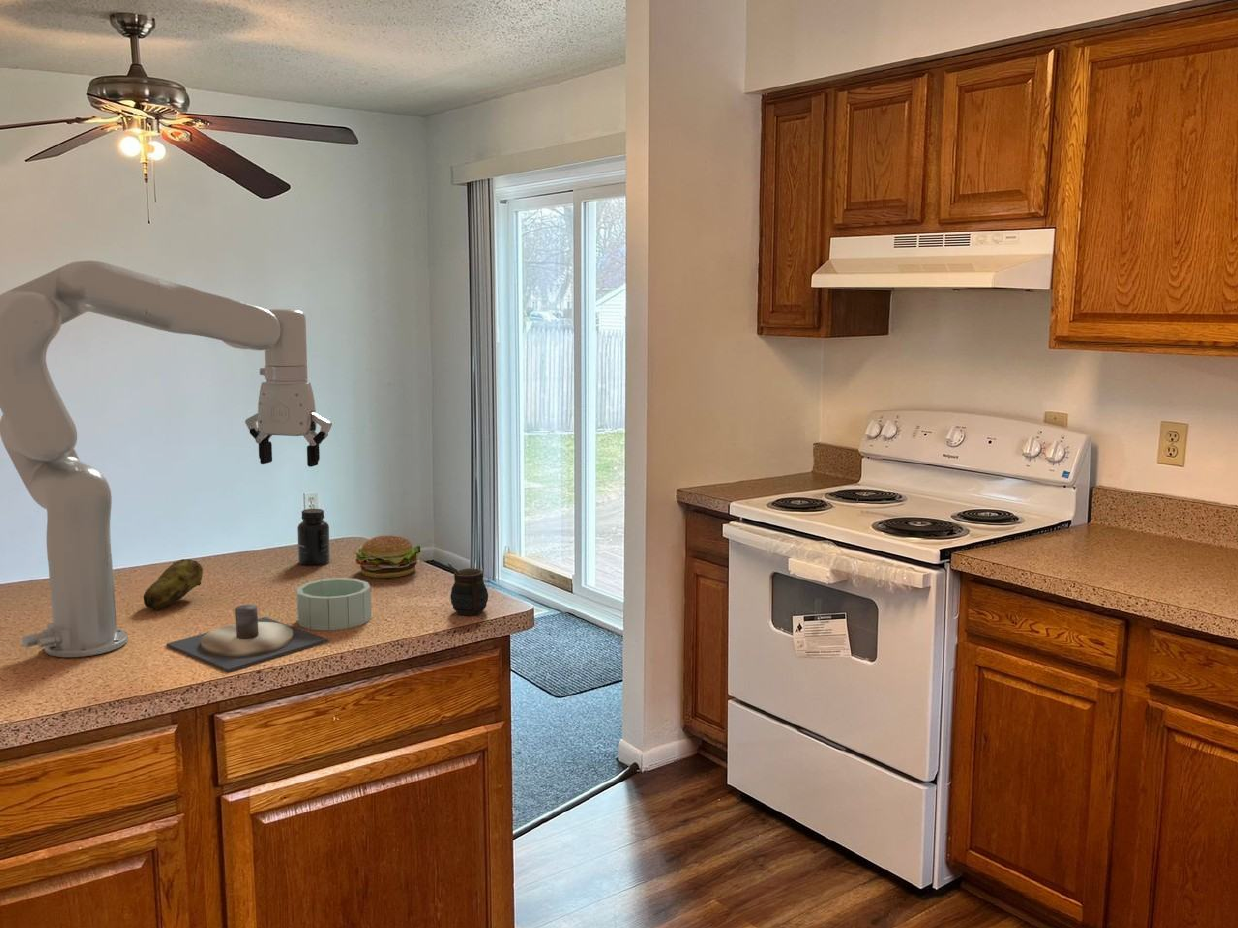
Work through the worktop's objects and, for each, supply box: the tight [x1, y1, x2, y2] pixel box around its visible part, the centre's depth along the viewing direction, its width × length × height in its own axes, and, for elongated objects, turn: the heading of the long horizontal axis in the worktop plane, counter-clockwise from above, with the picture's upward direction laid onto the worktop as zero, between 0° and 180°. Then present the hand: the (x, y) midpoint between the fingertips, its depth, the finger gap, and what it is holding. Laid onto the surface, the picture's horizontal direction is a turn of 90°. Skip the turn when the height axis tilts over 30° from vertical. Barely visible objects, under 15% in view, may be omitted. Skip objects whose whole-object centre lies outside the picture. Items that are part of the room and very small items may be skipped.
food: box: [353, 534, 421, 579], centre depth 221 cm, size 14×14×8 cm
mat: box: [166, 616, 329, 673], centre depth 176 cm, size 19×19×1 cm
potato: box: [143, 558, 204, 611], centre depth 197 cm, size 8×13×8 cm, turn 141°
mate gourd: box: [447, 563, 489, 616], centre depth 194 cm, size 7×8×10 cm
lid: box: [201, 604, 293, 656], centre depth 175 cm, size 15×15×6 cm
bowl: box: [295, 577, 372, 631], centre depth 189 cm, size 13×13×6 cm
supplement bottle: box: [296, 508, 331, 567], centre depth 228 cm, size 7×7×12 cm
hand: (289, 464), depth 195 cm, fingers open, 9 cm apart
